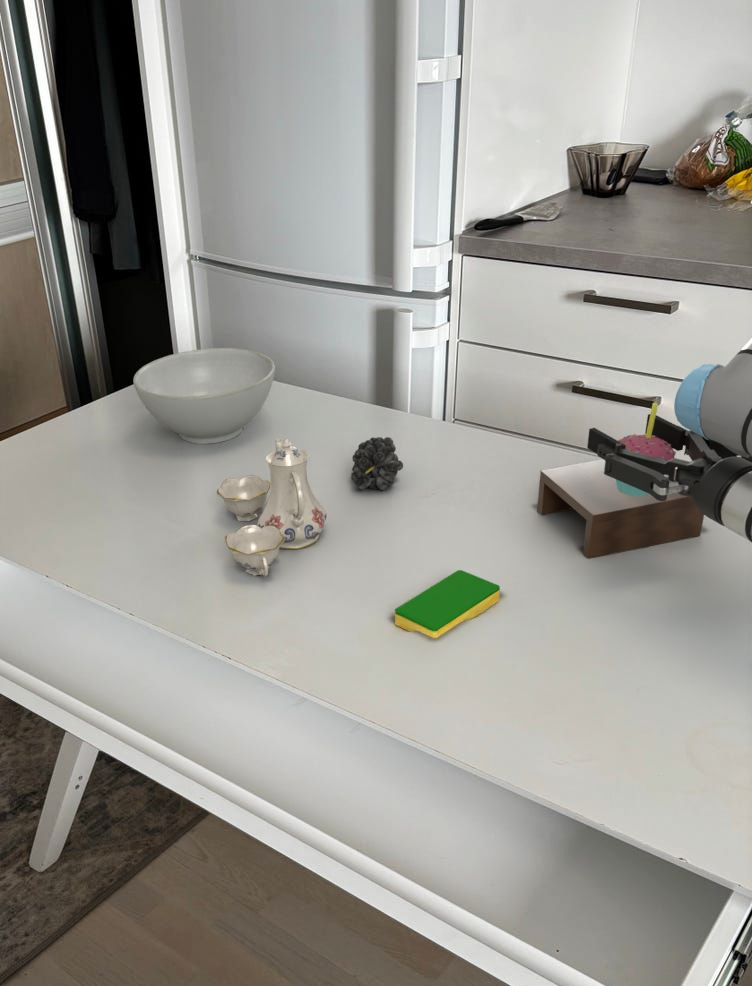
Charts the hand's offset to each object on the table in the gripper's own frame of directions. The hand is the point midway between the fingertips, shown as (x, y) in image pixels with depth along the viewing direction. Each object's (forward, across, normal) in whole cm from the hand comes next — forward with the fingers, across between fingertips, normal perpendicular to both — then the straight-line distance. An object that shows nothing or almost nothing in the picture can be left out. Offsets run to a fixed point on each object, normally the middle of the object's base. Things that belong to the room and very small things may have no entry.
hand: (620, 430), depth 129 cm
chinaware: (+29, -40, -20) cm, 53 cm away
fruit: (+40, -16, -20) cm, 48 cm away
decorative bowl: (+76, -36, -20) cm, 86 cm away
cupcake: (-5, 0, -7) cm, 8 cm away
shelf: (+8, +8, -20) cm, 23 cm away
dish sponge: (-2, -26, -20) cm, 33 cm away
